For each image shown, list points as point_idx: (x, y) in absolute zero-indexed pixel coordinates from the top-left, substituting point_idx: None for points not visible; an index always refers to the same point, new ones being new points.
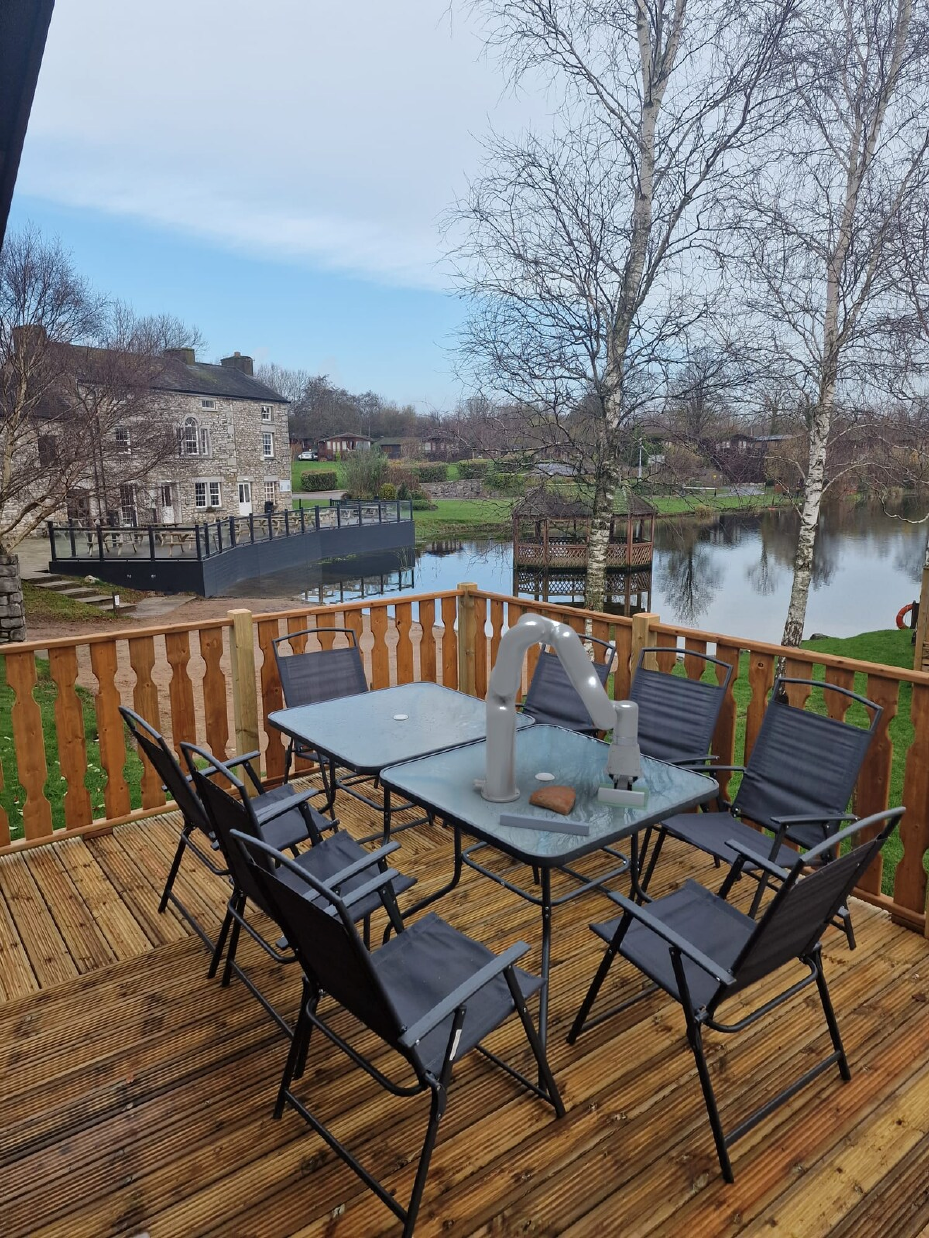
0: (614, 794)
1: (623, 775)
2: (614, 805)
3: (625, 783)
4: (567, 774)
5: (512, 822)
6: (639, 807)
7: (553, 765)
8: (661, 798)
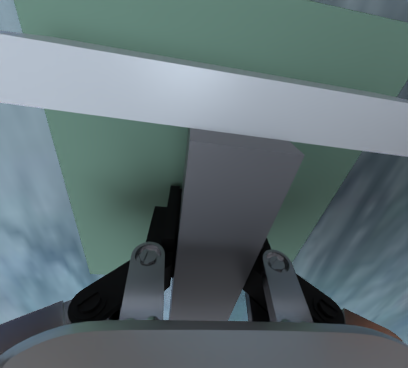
0: (307, 84)
1: (228, 322)
2: (286, 18)
3: (197, 233)
4: (362, 307)
5: None
6: (78, 3)
7: None
8: (5, 202)
